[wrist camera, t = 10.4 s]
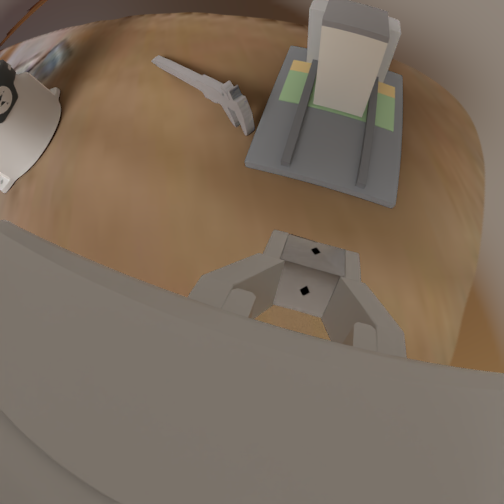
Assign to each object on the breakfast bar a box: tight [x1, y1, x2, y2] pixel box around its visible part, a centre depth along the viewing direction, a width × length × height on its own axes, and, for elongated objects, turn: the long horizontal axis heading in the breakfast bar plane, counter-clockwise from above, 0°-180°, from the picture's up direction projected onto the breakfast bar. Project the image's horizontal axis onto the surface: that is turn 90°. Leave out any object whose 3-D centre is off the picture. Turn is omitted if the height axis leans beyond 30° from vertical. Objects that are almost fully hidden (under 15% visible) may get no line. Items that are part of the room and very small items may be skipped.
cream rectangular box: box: [313, 0, 390, 117], centre depth 20 cm, size 5×5×11 cm
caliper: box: [151, 56, 255, 135], centre depth 25 cm, size 20×1×6 cm, turn 41°
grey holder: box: [245, 0, 403, 208], centre depth 21 cm, size 14×18×9 cm
